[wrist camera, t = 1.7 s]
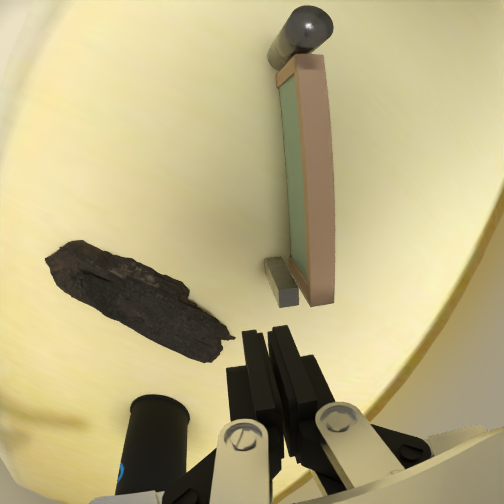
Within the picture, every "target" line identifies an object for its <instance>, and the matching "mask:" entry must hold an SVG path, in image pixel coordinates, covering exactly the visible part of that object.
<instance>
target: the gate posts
mask: <svg viewBox="0 0 504 504" xmlns="http://www.w3.org/2000/svg"><path fill="white" fill-rule="evenodd" d="M332 33H333V22H332V20H331V18H330V17H329V15H328V14H327V13H326V12H324V11H323V10H321V9H320V8H317V7H314V6H301V7H298V8H297V9H295V10H294V11H293V12H292V14H291V15H290V17H289V19H288V20H287V22H286V23H285V25H284V26H283V28H282V30H281V31H280V33H279V34H278V36H277V38H276V39H275V41H274V43H273V44H272V46H271V48H270V49H269V51H268V55H267V56H268V61H269V63H270V64H271V66H272V67H274V68H275V69H277V70H279V71H280V70H281V69H282V68H283V67H284V66H285V65H286V64H287V63H288V62H289V61H290V59H291V58H292V57H293V56H294V55H295V54H311V53H312V52H313V51H314V50H315V49H317V48H318V47H319V46H320V45H321V44H322V43H324V42H325V41H326V40H327V39H328V38H329V37H330V36H331V35H332ZM265 271H266V276H267V278H268V281H269V283H270V286H271V288H272V291H273V293H274V296H275V298H276V301H277V303H278V306H279V308H283V307H289V306H296V305H299V289H298V286H297V284H296V282H295V281H294V279H293V277H292V275H291V274H290V272H289V270H288V269H287V267H286V265H285V263H284V262H283V260H282V258H281V257H275V258H267V259H265Z"/></svg>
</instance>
